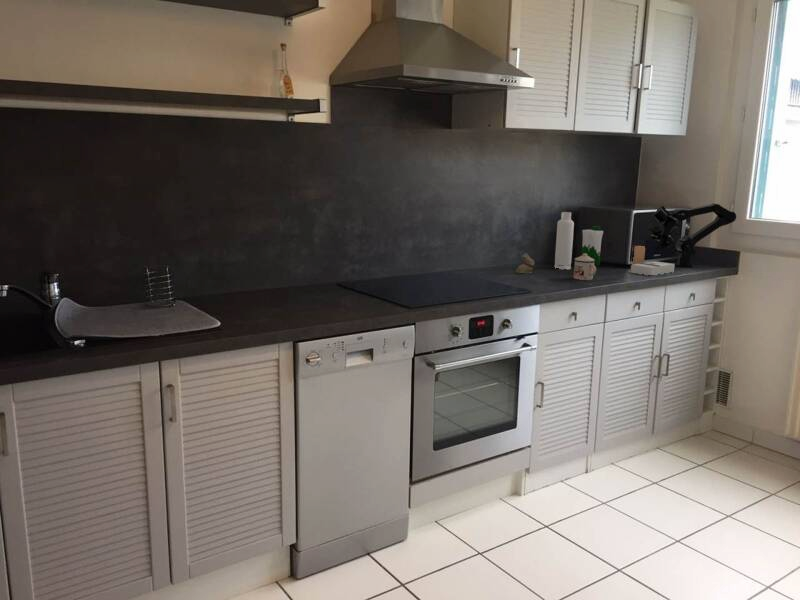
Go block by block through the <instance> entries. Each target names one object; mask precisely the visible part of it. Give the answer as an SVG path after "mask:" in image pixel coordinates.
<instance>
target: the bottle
mask: <svg viewBox="0 0 800 600" xmlns="http://www.w3.org/2000/svg"><path fill="white" fill-rule="evenodd" d="M556 224H557V226H556V241H555V253H554V254H555V255H554V256H555V257H554V267H555V268H554V269H556V268H559V269H558V270H564V269H566V270H571V269H572V257H573V256H572V255H573V246H574V245H573V242H574V227H575V223H574V221H573V220H572V212H570V211H562V212H561V214H560V219H559V220H558V221H557V223H556Z"/></svg>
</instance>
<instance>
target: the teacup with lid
mask: <svg viewBox="0 0 800 600" xmlns="http://www.w3.org/2000/svg"><path fill="white" fill-rule="evenodd" d="M594 262H595V260H594V259H592V258H590V257H589V256H587V254H585V253H584V254H583V256H582V255H580V256H578V257H575V258H574V267H573V279H575V280H578V279H579V280H580V281H591V280H593V279H594V275H595V274H596V272H597V267H596V266H595V265H594Z"/></svg>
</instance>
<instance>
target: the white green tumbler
mask: <svg viewBox="0 0 800 600" xmlns="http://www.w3.org/2000/svg"><path fill="white" fill-rule="evenodd" d="M591 228H592V229H582V231H581V232H582V244H581V245H582V247H581V256H583V254H584V253H585V254H587V256H589V257H590V258H592V259H594V260H595V262H594V265H596V266H600V265H601V251H602V250H601V247H602V238H603V234H604V230H601V226H599V225H593V226H592V227H591Z"/></svg>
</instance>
